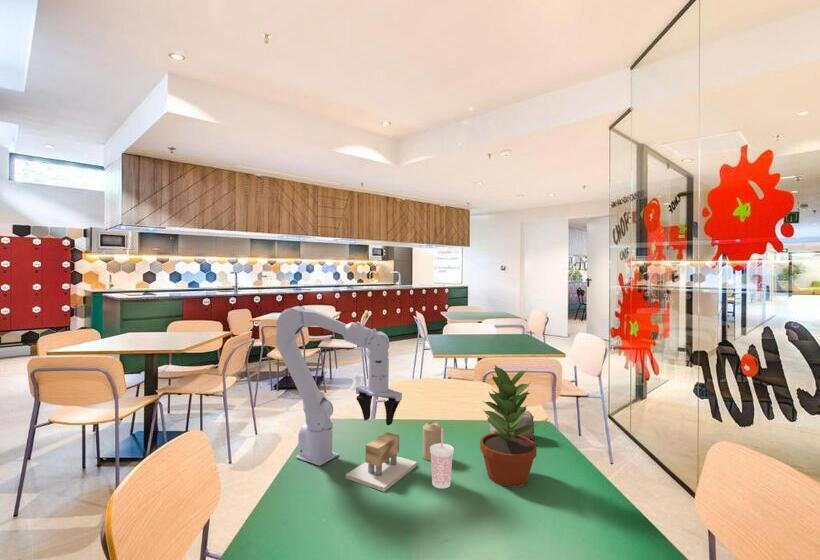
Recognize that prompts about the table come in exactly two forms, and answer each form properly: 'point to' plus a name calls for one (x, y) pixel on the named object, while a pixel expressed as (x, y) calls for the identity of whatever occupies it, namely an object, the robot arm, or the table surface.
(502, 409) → the potted plant
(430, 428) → the candle
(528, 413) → the food item
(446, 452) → the beverage cup
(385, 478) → the peg base
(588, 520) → the table surface
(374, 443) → the tan rectangular block
